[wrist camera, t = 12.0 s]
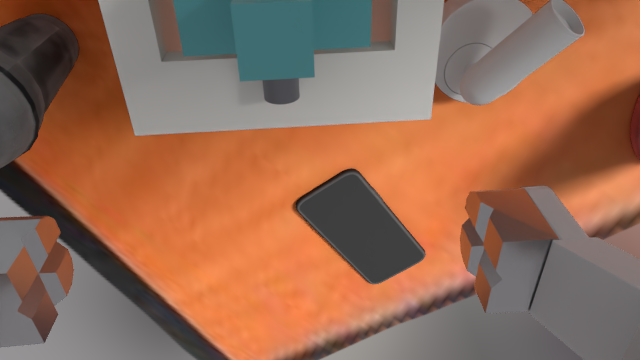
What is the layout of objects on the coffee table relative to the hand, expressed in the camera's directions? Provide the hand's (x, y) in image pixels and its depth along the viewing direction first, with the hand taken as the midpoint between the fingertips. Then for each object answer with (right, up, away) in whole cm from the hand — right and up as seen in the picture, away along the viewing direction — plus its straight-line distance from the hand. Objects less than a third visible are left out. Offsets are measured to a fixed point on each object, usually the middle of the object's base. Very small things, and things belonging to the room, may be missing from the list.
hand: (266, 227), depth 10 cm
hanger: (-2, +15, +21) cm, 26 cm away
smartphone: (+6, -4, +42) cm, 42 cm away
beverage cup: (-20, +12, +28) cm, 37 cm away
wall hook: (+14, +13, +30) cm, 36 cm away
